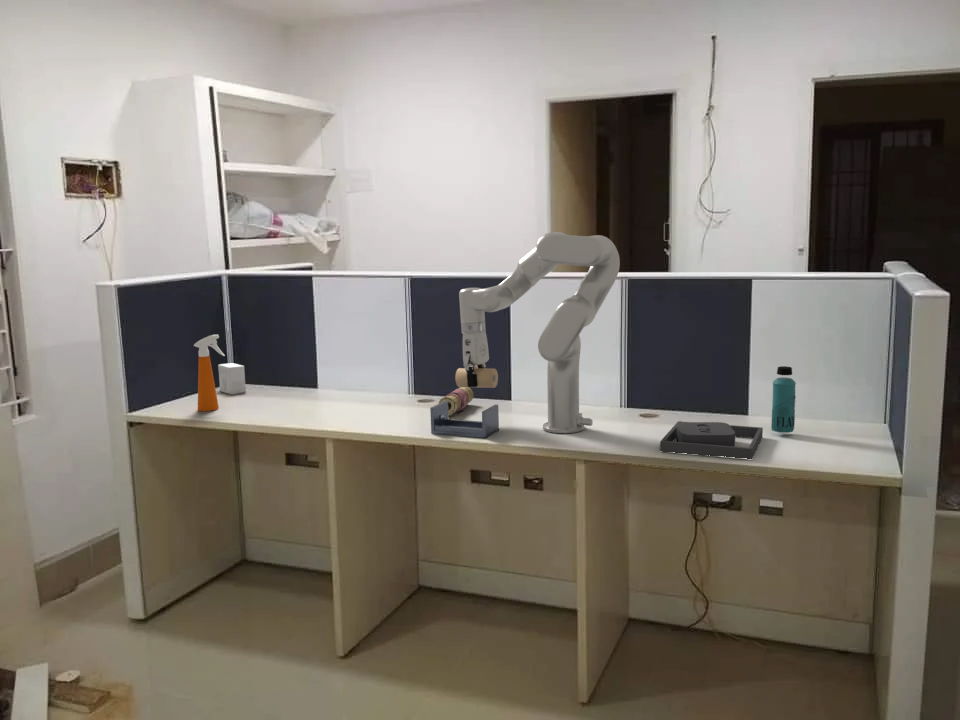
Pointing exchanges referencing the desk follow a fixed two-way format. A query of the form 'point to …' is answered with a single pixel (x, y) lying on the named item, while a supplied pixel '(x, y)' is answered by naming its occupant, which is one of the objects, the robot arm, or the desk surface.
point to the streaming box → (706, 433)
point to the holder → (464, 423)
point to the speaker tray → (714, 450)
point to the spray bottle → (206, 374)
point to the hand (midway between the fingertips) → (477, 384)
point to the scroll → (458, 399)
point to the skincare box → (231, 378)
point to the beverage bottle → (783, 402)
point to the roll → (478, 377)
